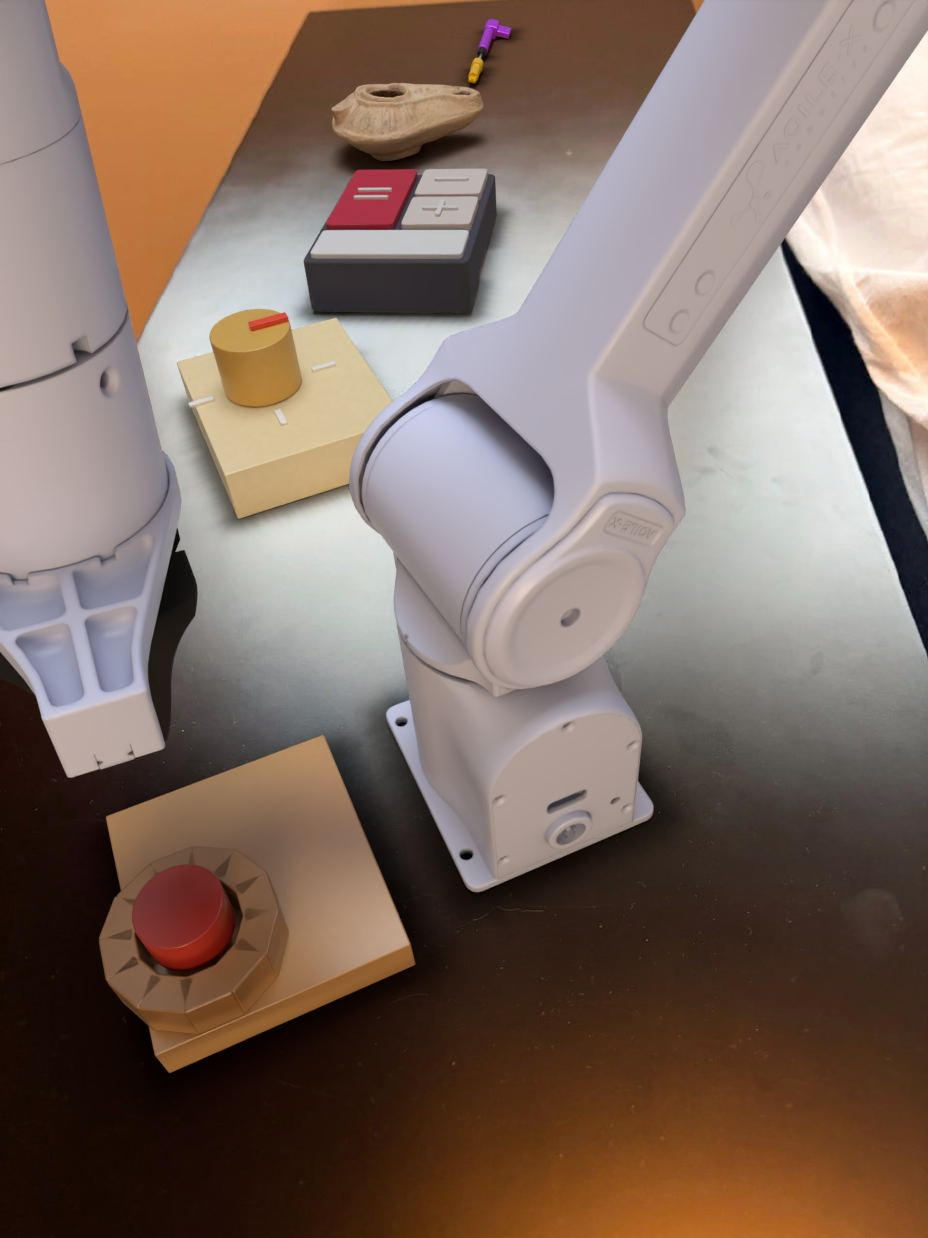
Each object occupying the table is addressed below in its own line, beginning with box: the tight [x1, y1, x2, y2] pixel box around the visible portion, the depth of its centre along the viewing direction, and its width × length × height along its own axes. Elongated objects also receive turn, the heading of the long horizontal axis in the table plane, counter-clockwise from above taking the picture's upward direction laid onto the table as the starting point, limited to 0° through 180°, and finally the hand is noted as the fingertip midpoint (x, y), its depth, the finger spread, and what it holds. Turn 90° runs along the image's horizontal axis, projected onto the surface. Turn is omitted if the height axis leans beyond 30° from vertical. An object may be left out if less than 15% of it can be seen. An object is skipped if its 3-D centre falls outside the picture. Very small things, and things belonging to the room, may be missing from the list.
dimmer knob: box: [208, 308, 302, 407], centre depth 55 cm, size 4×4×4 cm
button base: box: [98, 734, 416, 1074], centre depth 36 cm, size 10×10×4 cm
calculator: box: [303, 168, 497, 314], centre depth 70 cm, size 11×4×15 cm
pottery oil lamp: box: [331, 82, 484, 162], centre depth 83 cm, size 9×12×7 cm
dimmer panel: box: [176, 317, 394, 520], centre depth 57 cm, size 12×10×3 cm
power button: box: [132, 864, 236, 971], centre depth 33 cm, size 3×3×2 cm
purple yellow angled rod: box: [467, 18, 512, 84], centre depth 99 cm, size 3×1×16 cm
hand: (130, 735), depth 30 cm, fingers closed
